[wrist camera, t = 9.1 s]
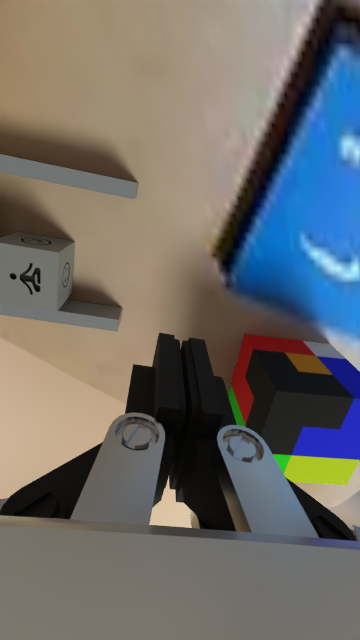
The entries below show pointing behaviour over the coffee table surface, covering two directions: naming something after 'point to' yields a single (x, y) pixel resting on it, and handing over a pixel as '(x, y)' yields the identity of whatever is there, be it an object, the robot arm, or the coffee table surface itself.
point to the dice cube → (35, 271)
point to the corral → (72, 309)
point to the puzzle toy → (300, 406)
